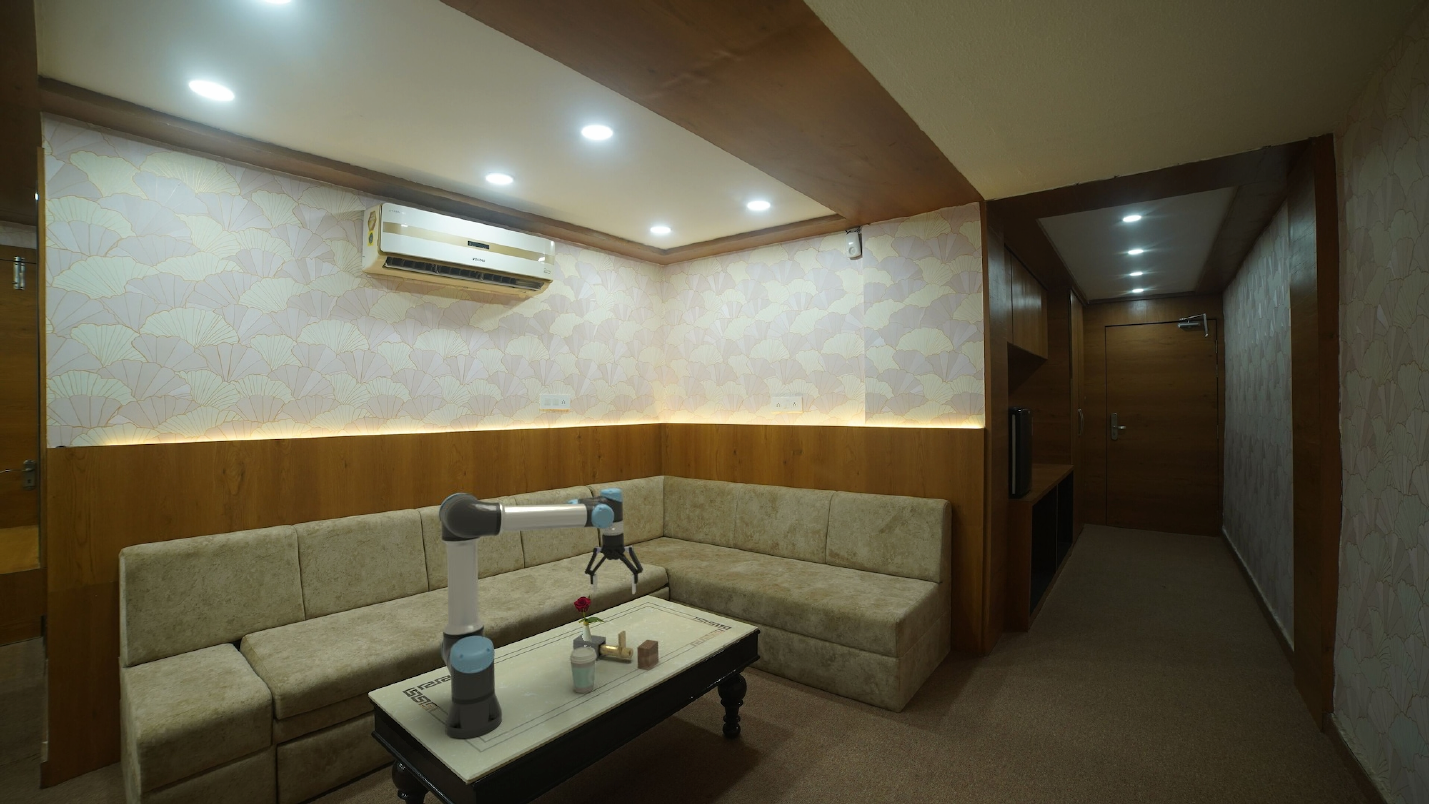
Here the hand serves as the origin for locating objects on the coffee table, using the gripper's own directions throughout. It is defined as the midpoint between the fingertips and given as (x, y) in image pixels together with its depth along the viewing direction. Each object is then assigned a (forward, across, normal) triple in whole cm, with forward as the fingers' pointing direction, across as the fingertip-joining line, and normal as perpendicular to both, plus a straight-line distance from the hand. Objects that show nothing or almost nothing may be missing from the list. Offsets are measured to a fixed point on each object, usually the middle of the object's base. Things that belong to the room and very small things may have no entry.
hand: (614, 593), depth 211 cm
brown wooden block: (+25, +11, -2) cm, 27 cm away
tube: (+23, -6, +4) cm, 24 cm away
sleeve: (+25, -11, +6) cm, 28 cm away
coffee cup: (+25, -7, -19) cm, 32 cm away
